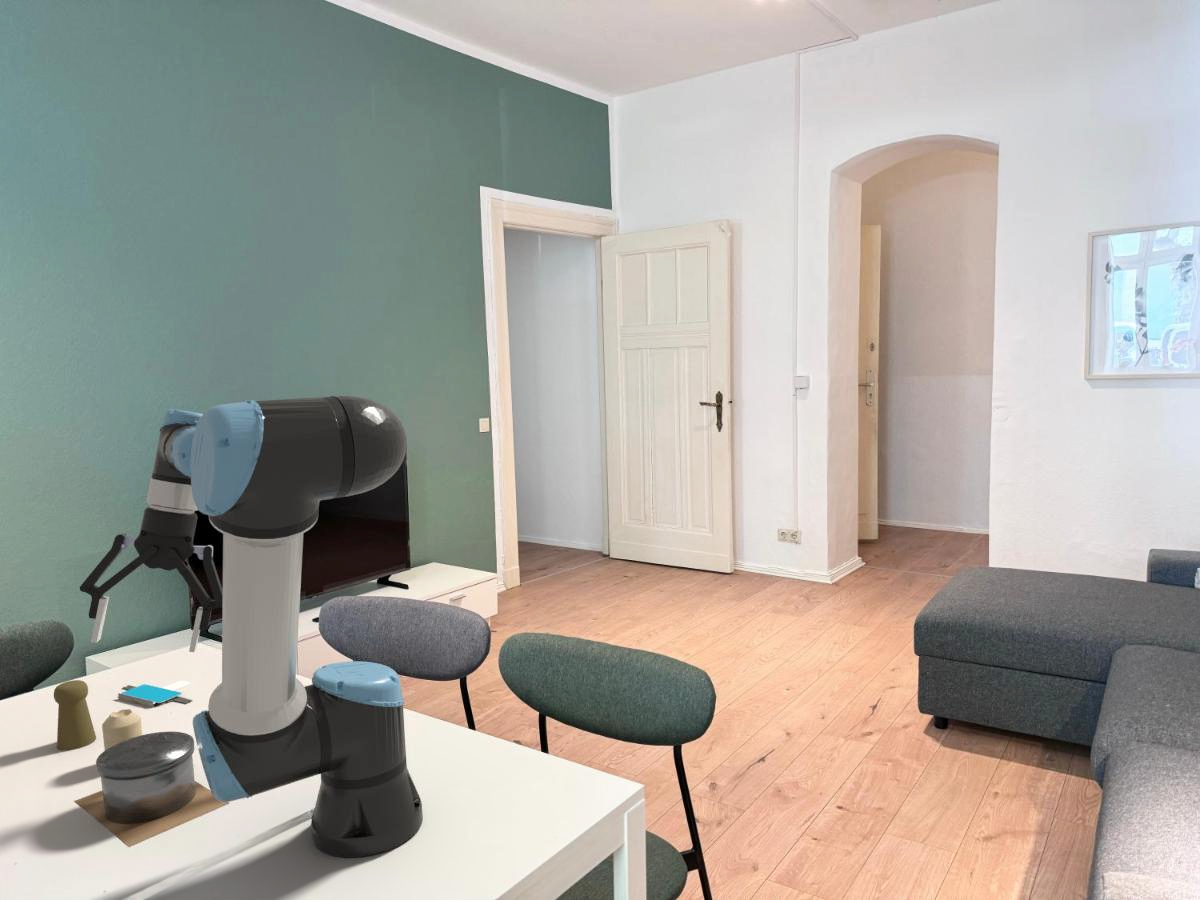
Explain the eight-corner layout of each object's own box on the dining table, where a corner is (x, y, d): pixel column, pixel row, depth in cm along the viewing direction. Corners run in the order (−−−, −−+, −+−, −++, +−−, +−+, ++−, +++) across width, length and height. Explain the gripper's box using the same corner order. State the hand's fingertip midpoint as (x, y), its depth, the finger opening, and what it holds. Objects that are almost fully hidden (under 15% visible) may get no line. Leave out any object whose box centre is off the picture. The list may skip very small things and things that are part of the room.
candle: (129, 780, 138) (122, 720, 137) (99, 778, 139) (92, 718, 138) (153, 763, 144) (147, 706, 142) (124, 761, 145) (118, 704, 144)
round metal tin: (214, 797, 129) (209, 746, 128) (123, 835, 119) (117, 780, 118) (175, 772, 137) (171, 724, 136) (87, 806, 127) (81, 755, 126)
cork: (67, 753, 149) (60, 692, 148) (49, 745, 152) (42, 685, 151) (103, 739, 154) (96, 679, 153) (85, 732, 157) (78, 674, 156)
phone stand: (219, 692, 175) (218, 684, 175) (165, 715, 165) (164, 706, 164) (155, 678, 184) (154, 670, 184) (101, 699, 174) (100, 691, 174)
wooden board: (230, 812, 127) (229, 802, 127) (130, 857, 117) (129, 846, 116) (170, 773, 140) (169, 764, 140) (75, 810, 129) (74, 800, 129)
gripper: (258, 519, 141) (233, 648, 140) (88, 495, 134) (60, 631, 133) (255, 523, 134) (229, 659, 133) (75, 497, 127) (46, 641, 125)
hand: (145, 645), depth 133 cm, fingers open, 13 cm apart
